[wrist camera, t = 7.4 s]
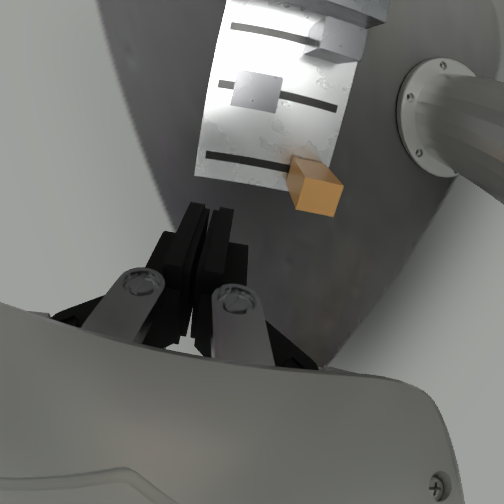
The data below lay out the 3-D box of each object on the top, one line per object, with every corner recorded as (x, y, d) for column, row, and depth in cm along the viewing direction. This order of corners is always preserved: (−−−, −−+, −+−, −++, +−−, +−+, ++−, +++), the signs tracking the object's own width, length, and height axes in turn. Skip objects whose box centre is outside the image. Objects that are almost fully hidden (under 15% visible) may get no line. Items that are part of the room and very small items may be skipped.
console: (361, 12, 17) (397, -4, 11) (315, 190, 27) (335, 225, 21) (235, -20, 16) (232, -52, 10) (197, 169, 26) (183, 199, 20)
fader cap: (325, 164, 23) (343, 186, 19) (317, 189, 25) (333, 216, 20) (292, 156, 23) (305, 176, 19) (285, 183, 24) (295, 209, 20)
